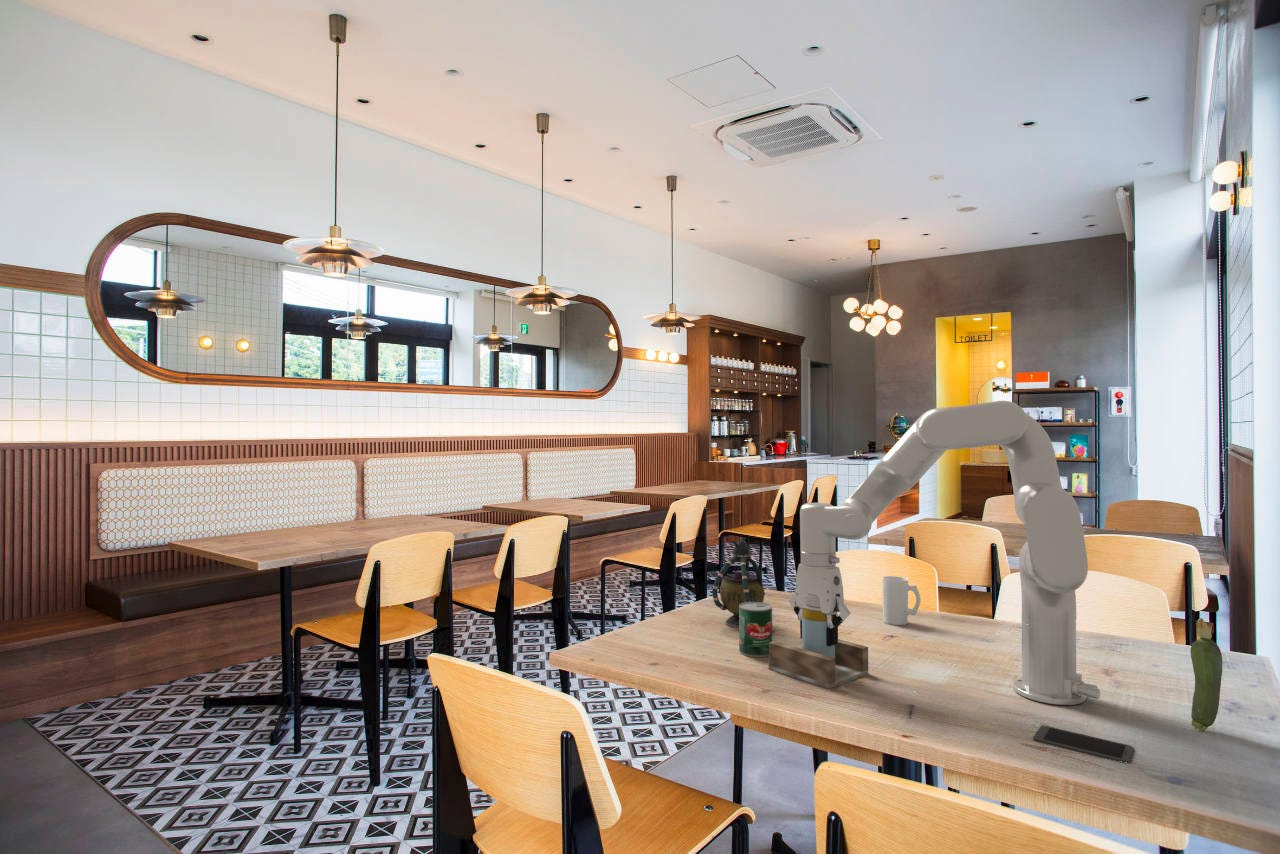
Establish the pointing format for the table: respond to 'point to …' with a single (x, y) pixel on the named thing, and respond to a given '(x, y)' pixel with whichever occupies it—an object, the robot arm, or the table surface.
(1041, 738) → the cell phone
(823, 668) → the u rest
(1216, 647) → the vegetable
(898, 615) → the mug
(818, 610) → the bottle
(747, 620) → the canned tomato
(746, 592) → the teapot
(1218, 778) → the table surface
